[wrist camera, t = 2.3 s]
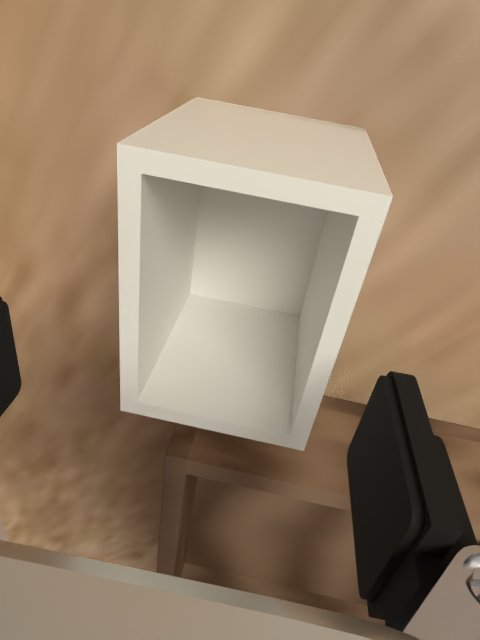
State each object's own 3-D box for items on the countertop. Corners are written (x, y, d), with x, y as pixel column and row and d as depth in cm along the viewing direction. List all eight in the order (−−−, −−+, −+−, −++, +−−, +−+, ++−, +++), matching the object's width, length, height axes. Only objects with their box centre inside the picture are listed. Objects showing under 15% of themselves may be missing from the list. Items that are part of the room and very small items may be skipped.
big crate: (562, 446, 24) (625, 558, 19) (421, 611, 35) (437, 707, 30) (196, 368, 25) (165, 454, 20) (174, 553, 36) (151, 638, 31)
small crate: (365, 128, 17) (393, 196, 10) (309, 322, 22) (303, 451, 15) (196, 97, 17) (116, 143, 10) (180, 295, 22) (120, 410, 16)
